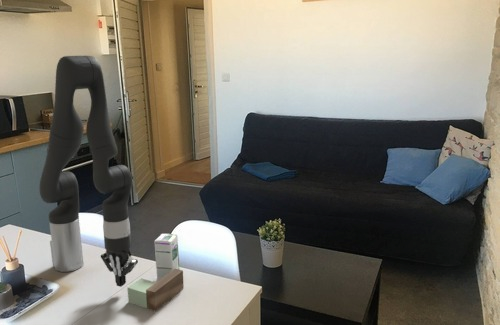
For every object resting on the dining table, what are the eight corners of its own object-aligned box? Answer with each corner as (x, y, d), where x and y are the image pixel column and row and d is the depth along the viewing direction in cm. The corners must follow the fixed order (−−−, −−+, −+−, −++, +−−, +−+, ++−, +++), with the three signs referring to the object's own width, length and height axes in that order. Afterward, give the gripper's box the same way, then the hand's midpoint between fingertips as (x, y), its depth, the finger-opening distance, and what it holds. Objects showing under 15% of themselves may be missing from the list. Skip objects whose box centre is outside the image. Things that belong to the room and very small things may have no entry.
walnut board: (147, 308, 123) (146, 289, 122) (175, 285, 135) (174, 268, 134) (155, 311, 122) (154, 292, 120) (183, 287, 134) (182, 270, 133)
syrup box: (173, 283, 137) (171, 241, 133) (156, 281, 138) (154, 239, 134) (180, 274, 142) (178, 234, 139) (163, 273, 143) (161, 232, 140)
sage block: (128, 302, 126) (127, 287, 125) (142, 292, 132) (141, 278, 130) (147, 308, 123) (146, 293, 122) (160, 298, 128) (159, 283, 127)
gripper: (90, 233, 126) (95, 285, 130) (125, 241, 120) (129, 296, 124) (109, 224, 132) (113, 274, 136) (143, 231, 127) (146, 284, 131)
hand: (121, 285), depth 130 cm, fingers closed
